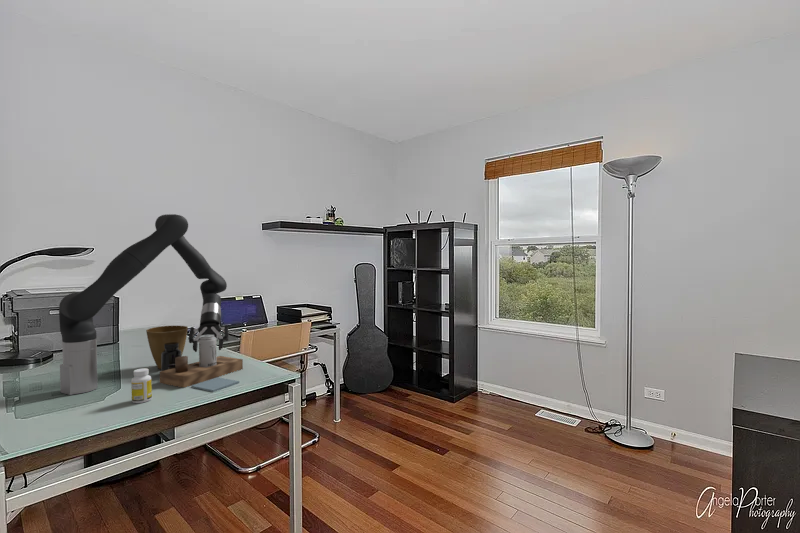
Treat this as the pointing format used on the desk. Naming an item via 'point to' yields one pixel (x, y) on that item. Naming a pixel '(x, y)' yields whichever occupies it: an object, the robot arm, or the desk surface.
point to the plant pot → (165, 339)
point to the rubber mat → (215, 384)
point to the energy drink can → (207, 351)
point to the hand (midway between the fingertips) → (207, 349)
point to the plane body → (198, 371)
